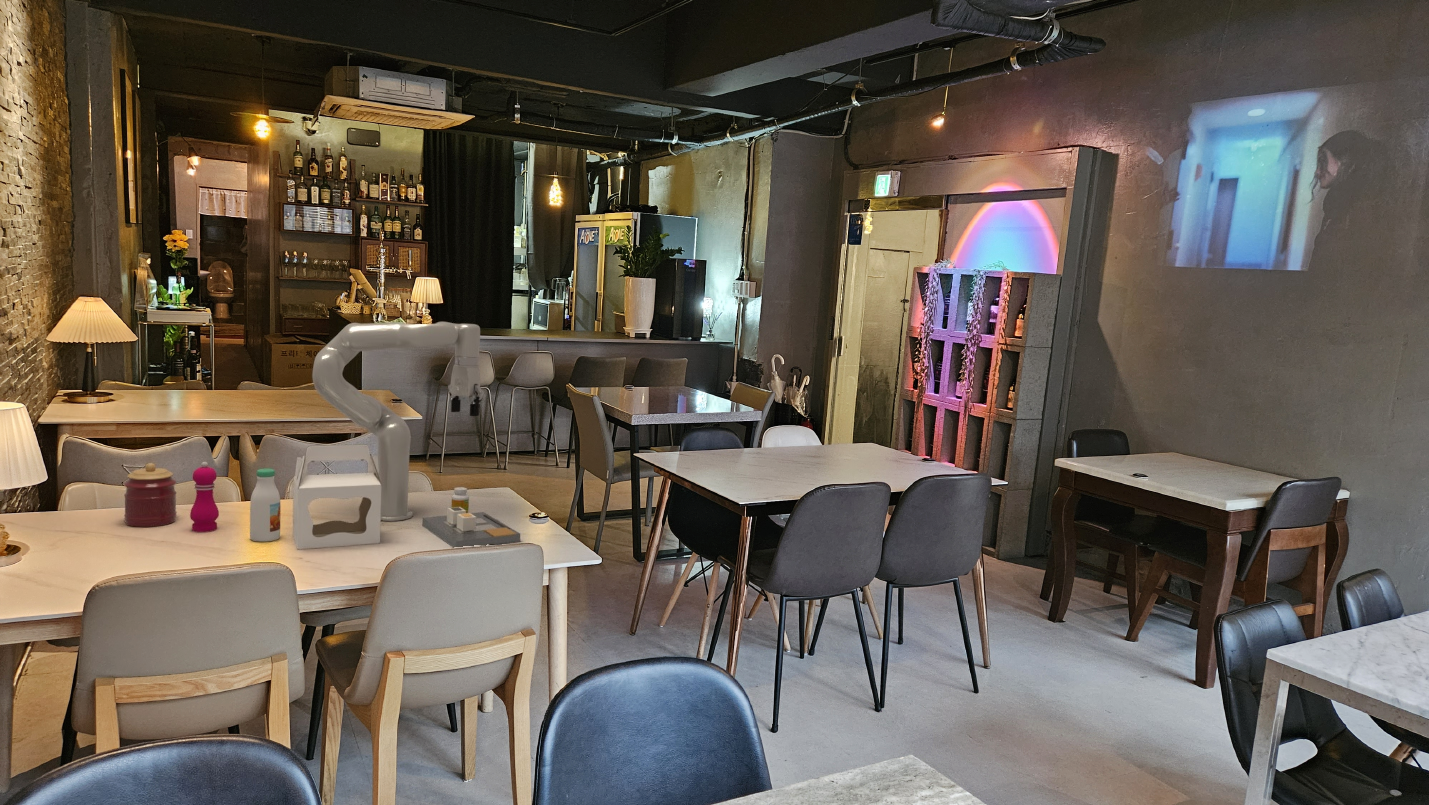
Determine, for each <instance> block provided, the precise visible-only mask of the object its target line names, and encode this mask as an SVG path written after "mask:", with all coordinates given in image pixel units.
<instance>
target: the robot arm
mask: <svg viewBox="0 0 1429 805" xmlns="http://www.w3.org/2000/svg"><path fill="white" fill-rule="evenodd" d="M480 342H481V327H480V326H479V325H478V324H475V323H454V322H453V323H452V322H448V321H438V322H435V323H427V324H426V323H423V324H420V323H417V324H415V323H406V322H400V321H399V322H397V321H396V322H394V321H393V322H376V323H374V322H373V323H370V322H369V323H359V322H352V323H349V324H347V325H346V326H344V327H343V329H341V331H339V332H338V334H337V335H336V336H334V337H333V338H332V339H331V340H330V341H329V342H328V343H327V344H326V345H325V346H324V347H323V348H322V349H321V350H319V351H318V353H317V354H316V356H315V357H314V362H313V368H312V375H311V376H312V384H313V385H314V388H315V390H316V392H317V393H318V394H319V396H320V397H321V398H322V399H323V400H325V401H326V402H327V403H328V404H329V405H331V406H332V407H334V409H336V410H337V411H338V412H340V413H341V414H342V415H344V416H345V417H347V418H348V419H349V420H350V421H352V422H353V423H354V424H355V425H356V426H358V427H361V428H364V429H366V430H368V432H370V433H371V434H372V435H374V436H375V437H376V438H377V455H378V469H379V473H378V476H379V479H380V482H381V484H382V487H381V521H384V522H385V521H387V522H390V521H391V522H396V521H403V520H408V519H410V518H412V517H413V511H412V510H410V509H408V507H409V506H408V505H409V504H408V503H409V476H410V473H409V472H410V471H409V470H410V469H409V468H410V467H409V466H410V451H411V450H410V448H411V439H412V437H411V436H412V435H411V430H410V428H409V426H408V424H407V423H406V421H405V420H404V419H403V418H402V417H401V416H399V415H398V414H397V413H396V412H394V411H393V410H392V409H391V408H389V407H388V406H386V405H385V404H383V403H382V402H381V401H379V400H378V399H377V398H375V396H371V395H370V394H369V395H368V394H364V393H363V392H361V391H360V390H359V389H358V388H356V387H355V386H354V385H353V384H351V383H349V382H348V381H347V380H346V379H345V378H344V376H343V372H344V369H345V366H346V365H347V364H349V363H350V361H352V360H353V359H354V358H355V357H356V356H357V355H358V354H359V353H360V352H369V351H371V352H372V351H389V350H409V349H410V350H411V349H432V348H434V349H436V348H448V347H451V346H455V348H454V349H455V350H454V352H455V353H454V365H453V367H452V371H451V377H450V384H448V385H447V388H448V392H449V393H448V394H449V396H450V400H451V401H450V402H451V404H450V412H451V413H460V411H461V398H467V399H469V400H470V404H469V416H470V417H479V415H480V405H481V401H482V400H483V398H484V395H485V390H483V389H482V388H481V373H480V372H481V371H480V366H479V365H480V344H481V343H480Z"/></svg>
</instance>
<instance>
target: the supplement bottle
mask: <svg viewBox="0 0 1429 805" xmlns="http://www.w3.org/2000/svg"><path fill="white" fill-rule="evenodd" d="M453 493H454V494H453V495H452V496H451V507H450V508H455V507H461V508H462V509H464V510H466V513H469V507H470V506H469V504H470V503H469V501H470V496H469V495H468V494H467V493H468V488H466V487H463V486H462V487H458V486H456V487H454V488H453Z"/></svg>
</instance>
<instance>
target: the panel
mask: <svg viewBox="0 0 1429 805" xmlns="http://www.w3.org/2000/svg"><path fill="white" fill-rule="evenodd" d="M470 513H471V514H472V515H474V516H476V530H470V531H462V530H460V529H459V528H457V524H455V525H453V524H451V523H450V522H448V521H447V514H446V515H439V516H427V517H422V519H421V520H422V521H421V522H422V523H421V525H422V527H424V528H425V529H427V530H428V531H429V532H431V533H432V534H433V535H435V536H436V537H437V538H439V539H440V540H442V541H443V542H444V543H445V544H448V545H449V546H450V547H451V548H453V547H463V546H474V545H487V544H497V545H501V544H500V543H505V544H511V543H510V542H513V543H520V542H521V533H520V532H519V531H517V530H515V529H514V528H511V527H510V526H508V525H506V524H504V523H503V522H501V521H500V520H498V519H496V518H495V517H493V516H491V515H489V514H488V513H486V512H484V511H482V512H481V511H479V512H470Z"/></svg>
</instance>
